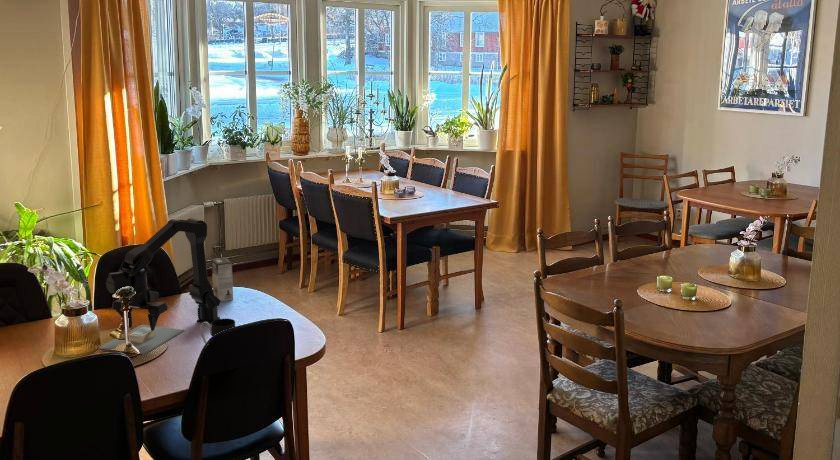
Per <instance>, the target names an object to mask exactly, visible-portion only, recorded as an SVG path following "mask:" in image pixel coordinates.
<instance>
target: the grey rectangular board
mask: <svg viewBox="0 0 840 460" xmlns="http://www.w3.org/2000/svg"><path fill="white" fill-rule="evenodd" d="M142 327H146V328H150V324H149V325H147V324H140V325H138V326H136V327H135V328H133V329H131V330H130V331H131V332H135V331H137V330H139V329H141V328H142ZM184 332H185V329H179V328H171V327H165V326H157V325H156V326H155V334H156V335H155V336H153V337H152V338H150V339H148V340H147V341H145V342H143V343H137V342H131V343H132V344H133V345H134V346H135V347H136V348H137V349H138V350H139V352H140V354H142V355H141V356H145V355H146V354H149V351H150V352H152V351H153V350H155V349H156V347H157V348H158V347H161V346H162V345H163V344H165V343H166V342H168V341H170V340H172V339H173V338H176V337H177V336H178V335H181V334H182V333H184ZM116 338H117V337H115V338H114V339H112V340H110V341H107V342H106V343H104V344H102V345H100V346H98V347H99V348H100V349H99V350H102V349H105V351H110V350H111V349H115V348H116V346H118V343H119V344H121V343H125V340H118V339H116ZM154 348H155V349H154ZM151 350H152V351H151ZM144 354H145V355H144Z"/></svg>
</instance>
